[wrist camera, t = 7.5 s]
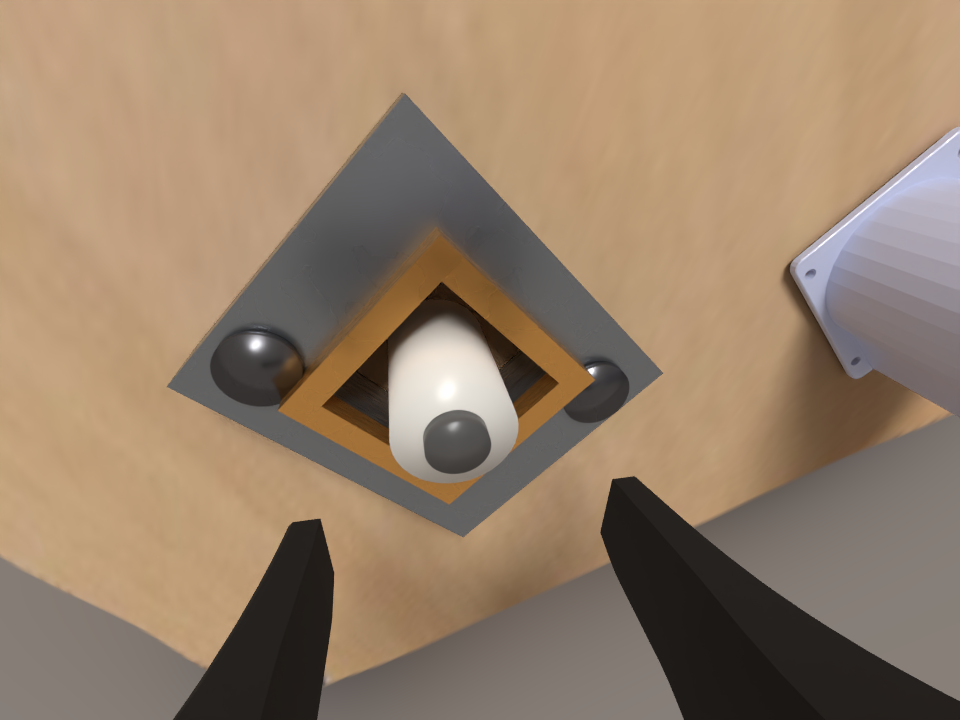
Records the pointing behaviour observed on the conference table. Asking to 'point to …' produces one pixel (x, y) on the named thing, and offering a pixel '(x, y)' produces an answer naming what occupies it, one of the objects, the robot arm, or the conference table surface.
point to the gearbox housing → (389, 301)
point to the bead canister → (446, 396)
